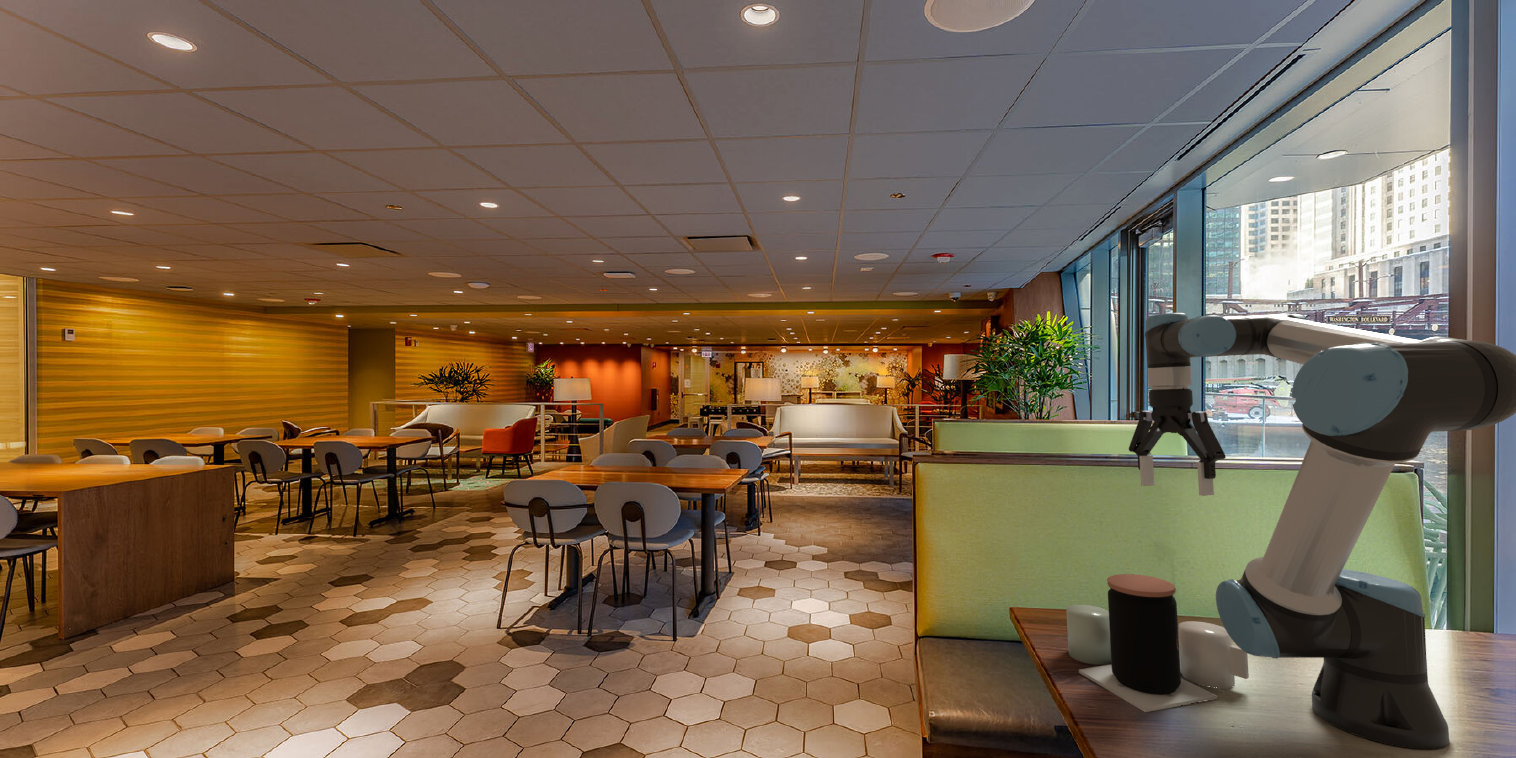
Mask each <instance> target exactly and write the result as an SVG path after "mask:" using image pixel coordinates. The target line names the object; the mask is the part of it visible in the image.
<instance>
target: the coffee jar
mask: <svg viewBox="0 0 1516 758" xmlns="http://www.w3.org/2000/svg"><path fill="white" fill-rule="evenodd" d="M1106 580H1107V586H1108V588H1109V589H1108V590H1107V602H1108V603H1107V604H1108V605H1107V606H1108V607H1107V608H1108V611H1109V627H1110V646H1111V663H1110V665H1112V673H1113V674H1114V676H1115V677H1116V679H1117V680H1118V681H1119V682H1120V683H1121V684H1123V685H1124V686H1126V687H1128V688H1131V689H1133V690H1136V691H1140V692H1143V693H1149V694H1158V695H1164V694H1171V693H1173V692H1175V691H1176V689H1177V688H1178V687H1179V686H1180V684H1181V678H1182V677H1181V676H1182V675H1181V661H1180V643H1179V623H1178V608H1177V605H1178V603H1177V600H1176V599H1175V597H1174V595H1175V593H1176V591H1177V590H1176V589H1177V588H1176V586H1175V584H1173V583H1172V582H1171V581H1168V580H1165V579H1162V578H1159V577H1154V576H1149V575H1144V574H1132V573H1131V574H1129V573H1128V574H1127V573H1125V574H1124V573H1123V574H1122V573H1121V574H1114V575H1110V576H1109V577H1107V579H1106Z"/></svg>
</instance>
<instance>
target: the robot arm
mask: <svg viewBox="0 0 1516 758" xmlns="http://www.w3.org/2000/svg"><path fill="white" fill-rule="evenodd" d="M1144 339H1145V350H1146V353H1145V354H1146V363H1147V364H1146V365H1147V385H1148V387H1149V388H1151V389H1150V390H1149V391H1148V401H1149V406H1150V407H1151V408H1152V410H1140V411H1138V421H1137V425H1136V427H1135V430H1134V432H1133V435H1132V438H1131V440H1130V444H1129V446H1128V452H1131V453H1135V455H1136V456H1137V467H1138V470H1139V471H1140V486H1141V487H1150V486H1155V477H1154V476H1155V475H1154V474H1155V473H1154V458H1153V457H1154V456H1153V455H1152V453H1151V451H1152V450H1153V449H1154V447H1155V446H1156V444H1157V443H1158V442H1159V441H1160V439H1161V437H1163V435H1164V434H1166V433H1171V434H1178V435H1179V436H1181V437H1182V438H1183V439H1184V441H1185V442H1186V443H1187V444H1188V446H1189V447H1190V448H1191V449H1192V451H1193V452H1194V453H1195V454H1196V456H1197V457H1198V458H1199V459H1200V460H1199V461H1197V480H1198V482H1197V483H1198V496H1201V497H1204V496H1214V494H1215V492H1214V491H1215V490H1214V479H1216V478H1217V474H1216V462H1217V461H1221V460H1225V459H1226V456H1227V455H1226V453H1225V452H1224V449H1223V448H1222V446H1221V444H1220V442H1219V440H1218V439H1217V435H1216V434H1215V433H1214V430H1213V429H1212V427H1211V425H1210V423H1209V417H1208V414H1207V412H1206V411H1204V410H1203V411H1193V412H1192V410H1191V407H1192V406H1193V404H1194V402H1193V400H1194V399H1193V390H1192V388H1189V387H1190V386H1191V385H1192V367H1191V358H1206V357H1226V356H1227V357H1228V356H1229V357H1230V356H1249V355H1250V356H1251V355H1252V356H1253V355H1263V356H1264V355H1265V356H1269V357H1273V358H1276V359H1279V360H1286V361H1289V362H1292V363H1297V364H1300V365H1302V366H1301V367H1300V369H1299V370H1298V372H1297V374H1296V375H1295V378H1294V381H1293V384H1292V389H1291V398H1292V399H1295V402H1294V403H1293V404H1292V408H1293V410H1294V413H1295V415H1296V417H1297V419H1298V420H1299V422H1300V423H1302V424H1301V427H1302V430H1303V432H1304V433H1305V435H1306V436H1307V437H1308V438H1309V439H1310V442H1309V444H1308V447H1307V449H1306V452H1305V455H1304V457H1303V460H1302V462H1301V465H1300V467H1299V469H1298V472H1297V474H1296V476H1295V479H1294V482H1293V484H1292V486H1291V489H1290V491H1289V494H1288V496H1287V499H1286V501H1285V503H1284V505H1283V508H1282V511H1281V514H1280V516H1279V517H1278V521H1277V522H1276V525H1275V528H1274V531H1273V533H1272V536H1271V538H1270V540H1269V543H1268V545H1267V547H1266V550H1265V553H1264V555H1263V556H1261V557H1256V558H1253V559H1251V560H1250V561H1249V562H1248V563H1247V564H1246V566H1245V568H1244V571H1243V573H1242V577H1241V578H1240V579H1238V580H1235V579H1234V578H1233V579H1231V578H1230V579H1227V580H1223V581H1220V583H1218V585H1217V587H1216V590H1215V603H1216V610H1217V613H1218V615H1219V618H1220V621H1221V623H1222V625H1223V626H1222V627H1224V628H1225V630H1226V631H1227V633H1228V635H1229V636H1230V637H1231V639H1232V642H1233V643H1235V646H1237V647H1239V648H1241V649H1242V650H1243V651H1245V652H1246V653H1247V655H1250V656H1251V655H1252V656H1254V657H1263V658H1271V659H1276V660H1277V659H1279V658H1282V659H1283V658H1284V659H1287V658H1288V659H1298V658H1299V659H1301V658H1302V659H1308V658H1309V659H1312V658H1313V659H1318V658H1319V659H1323V664H1322V666H1321V669H1320V671H1319V674H1318V677H1317V678H1316V681H1315V683H1314V686H1313V689H1312V690H1311V691H1312V692H1311V706H1312V709H1313V712H1315V714H1317V715H1318V716H1319V717H1320V718H1321V719H1322V720H1325V721H1326V722H1327V723H1328V724H1331V725H1333V726H1335V727H1336V728H1338V729H1341V730H1344V731H1346V732H1348V733H1351V734H1352V735H1353V734H1354V735H1356V736H1359V737H1361V738H1363V739H1368V740H1370V741H1375V742H1378V743H1382V744H1385V745H1390V746H1394V747H1400V748H1408V749H1415V750H1437V749H1440V748H1444V747H1446V746H1447V745H1448V744H1449V743H1450V733H1449V731H1450V730H1449V725H1448V723H1447V720H1446V719H1445V717H1444V715H1443V712H1442V711H1441V708H1440V706H1439V703H1438V702H1437V699H1436V697H1435V695H1434V693H1433V691H1432V688H1431V687H1430V685H1429V678H1428V663H1427V662H1428V659H1427V641H1426V625H1425V624H1426V621H1425V619H1426V618H1427V617H1426V614H1425V613H1424V608H1423V600H1422V596H1421V594H1420V592H1419V591H1418V590H1417V589H1416V588H1414V587H1413V586H1412V585H1409V584H1408V583H1405V582H1402V581H1399V580H1396V579H1393V578H1390V577H1389V578H1388V577H1385V576H1381V575H1377V574H1373V573H1368V572H1363V571H1358V570H1352V569H1347V568H1346V569H1345V565H1346V564H1347V561H1348V560H1349V557H1350V555H1351V553H1352V552H1353V549H1354V547H1355V545H1356V543H1357V542H1358V540H1359V538H1360V535H1361V533H1362V532H1363V529H1364V527H1365V526H1366V523H1367V522H1368V520H1369V517H1370V515H1371V513H1372V512H1373V510H1374V507H1375V505H1376V504H1377V501H1378V499H1379V497H1380V495H1381V493H1382V491H1383V489H1384V487H1385V485H1386V483H1387V481H1388V479H1389V477H1390V475H1391V473H1392V472H1393V469H1394V467H1395V466H1396V464H1401V463H1405V462H1406V463H1407V462H1410V461H1412V460H1414V459H1416V458H1417V457H1418V456H1419V454H1420V452H1421V450H1422V449H1423V447H1424V444H1425V442H1426V440H1427V438H1428V437H1429V435H1430V434H1431V433H1436V432H1440V433H1442V432H1460V431H1474V430H1478V429H1483V428H1487V427H1491V426H1494V425H1497V424H1499V423H1502V422H1504V421H1505V420H1507V419H1509V418H1510V417H1512V416H1513V415H1515V414H1516V354H1514V353H1513V352H1511V351H1510V350H1508V349H1506V348H1504V347H1503V346H1499V345H1496V344H1494V343H1491V342H1490V343H1489V342H1486V341H1480V340H1471V339H1470V340H1469V339H1459V338H1454V337H1448V336H1433V337H1428V338H1425V339H1421V340H1420V339H1415V338H1410V337H1403V336H1398V335H1392V334H1386V333H1381V332H1374V331H1369V330H1363V329H1357V328H1352V327H1346V326H1340V325H1339V326H1338V325H1333V324H1329V323H1328V324H1327V323H1323V322H1322V323H1321V322H1316V321H1311V320H1309V319H1307V317H1306V316H1305V315H1302V314H1299V313H1284V312H1283V313H1281V312H1280V313H1279V312H1278V313H1275V314H1261V315H1260V314H1259V315H1236V316H1235V315H1233V316H1220V315H1214V314H1213V315H1211V314H1210V315H1199V316H1196V317H1194V318H1193V317H1192V318H1188V315H1187V314H1186V313H1184V312H1170V313H1160V314H1153V315H1150V316H1148V317H1147V318H1146V319H1145V332H1144ZM1191 422H1192V423H1191Z"/></svg>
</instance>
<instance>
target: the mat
mask: <svg viewBox="0 0 1516 758" xmlns="http://www.w3.org/2000/svg"><path fill="white" fill-rule="evenodd" d="M1078 673H1079V674H1080V675H1082V676H1083V677H1086V678H1087V679H1089V680H1091V681H1092V682H1093V683H1095V684H1097V685H1098V686H1100V687H1102V688H1104V689H1105V690H1107V691H1109V692H1110V693H1112V694H1113V695H1116V696H1117V697H1119V698H1120V699H1122V700H1124V701H1125V702H1127V703H1129V704H1131V705H1132V706H1134V707H1135V708H1137V709H1139V710H1141V711H1142V712H1144V713H1148V712H1153V711H1160V710H1166V709H1171V708H1176V707H1181V705H1183V706H1187V705H1192V704H1191V703H1194V702H1199V701H1204V700H1211V701H1214V700H1213V699H1216V700H1218V695H1216V694H1215V693H1212V692H1210V691H1208V690H1206V689H1204V688H1203V687H1200V686H1199V685H1197V684H1195V683H1193V682H1190V681H1188V680H1187V679H1185V678H1183V677H1181V684H1180V686H1179V687H1178V688H1177V689H1176V691H1175V692H1173V693H1171V694H1164V695H1158V694H1149V693H1143V692H1140V691H1136V690H1133V689H1131V688H1128V687H1126V686H1124V685H1123V684H1121V683H1120V682H1119V681H1118V680H1117V679H1116V677H1115V676H1114V674H1113V673H1112V665H1111V664H1106V665H1097V666H1094V667H1087V668H1081V669H1078ZM1199 703H1200V702H1199ZM1194 704H1195V703H1194Z"/></svg>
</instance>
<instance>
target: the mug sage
mask: <svg viewBox="0 0 1516 758" xmlns="http://www.w3.org/2000/svg"><path fill="white" fill-rule="evenodd" d="M1065 610H1066V628H1067V645H1068V646H1067V647H1068V649H1067V650H1068V655H1069V657H1070V658H1072V659H1074V660H1076V661H1078V662H1081V663H1084V664H1088V665H1096V666H1105V665H1111V646H1110V627H1109V610H1107V609H1106V608H1102V607H1099V606H1095V605H1090V604H1089V605H1088V604H1072V605H1069V606H1067V607H1066V609H1065Z"/></svg>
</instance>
